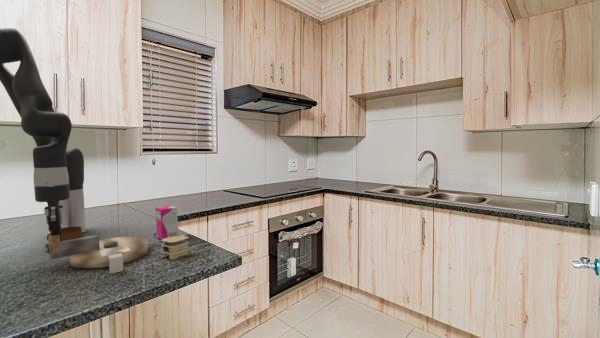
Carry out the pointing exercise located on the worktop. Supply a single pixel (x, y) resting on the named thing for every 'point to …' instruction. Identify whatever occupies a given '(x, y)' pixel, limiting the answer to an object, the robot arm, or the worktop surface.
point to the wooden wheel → (96, 250)
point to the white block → (115, 263)
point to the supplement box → (166, 222)
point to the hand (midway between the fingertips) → (56, 243)
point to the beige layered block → (175, 246)
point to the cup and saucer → (68, 234)
